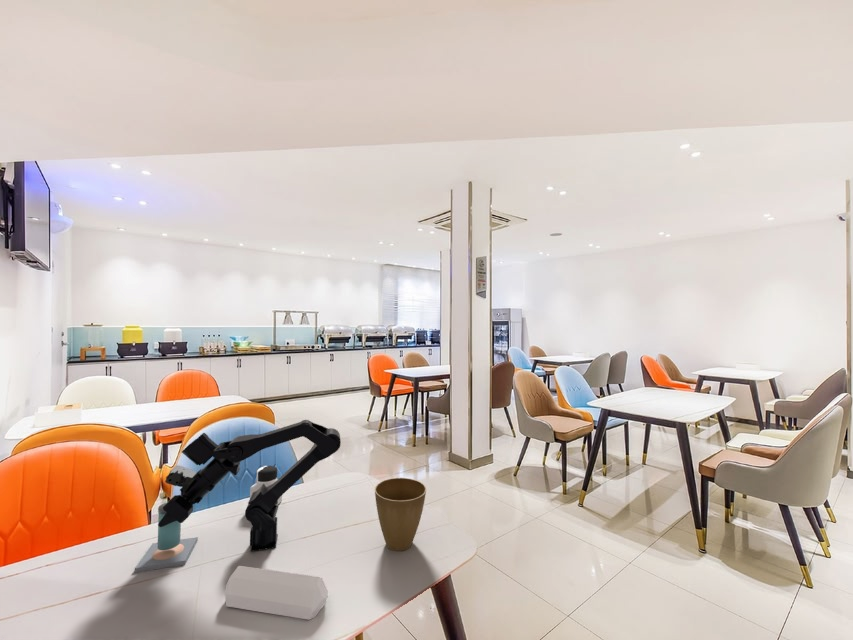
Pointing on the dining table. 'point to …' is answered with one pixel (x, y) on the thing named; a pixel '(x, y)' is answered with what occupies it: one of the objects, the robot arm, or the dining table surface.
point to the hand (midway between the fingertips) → (164, 520)
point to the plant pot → (399, 510)
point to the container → (265, 479)
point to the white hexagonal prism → (276, 592)
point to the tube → (168, 532)
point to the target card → (166, 556)
